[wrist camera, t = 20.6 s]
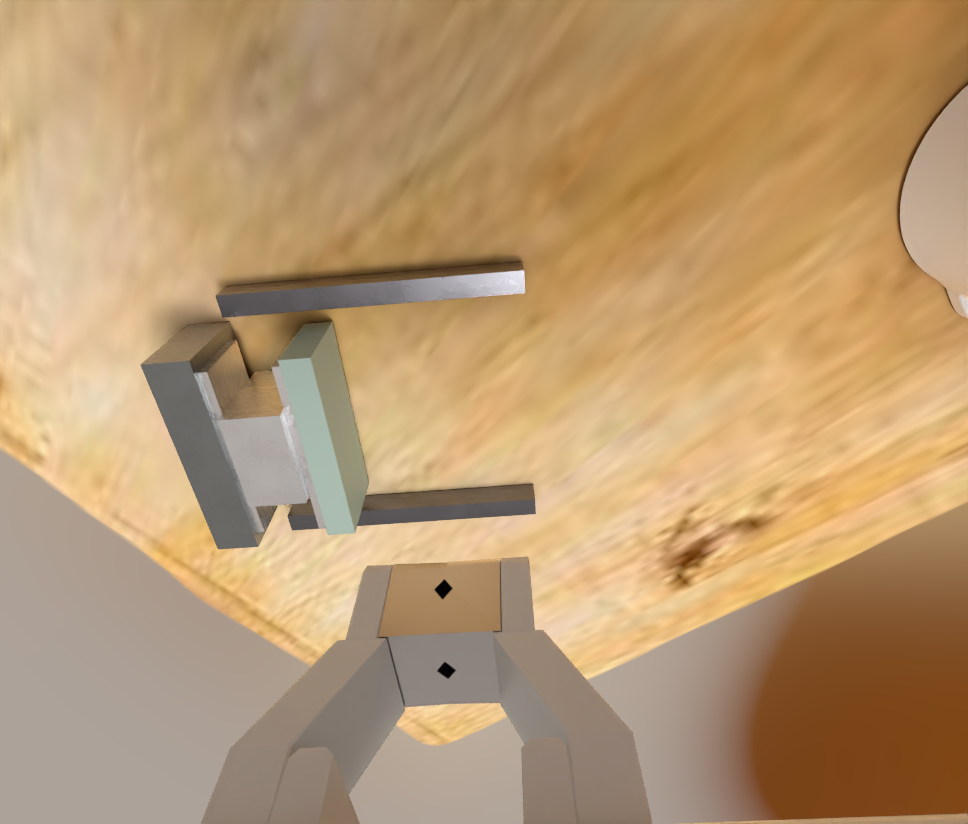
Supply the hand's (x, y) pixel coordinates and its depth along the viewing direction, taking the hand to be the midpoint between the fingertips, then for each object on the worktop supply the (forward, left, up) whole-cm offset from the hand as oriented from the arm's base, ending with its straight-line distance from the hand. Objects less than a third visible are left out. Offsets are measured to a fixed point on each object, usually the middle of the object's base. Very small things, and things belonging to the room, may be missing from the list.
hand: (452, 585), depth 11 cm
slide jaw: (+11, +13, -30) cm, 35 cm away
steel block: (+15, +13, -31) cm, 36 cm away
